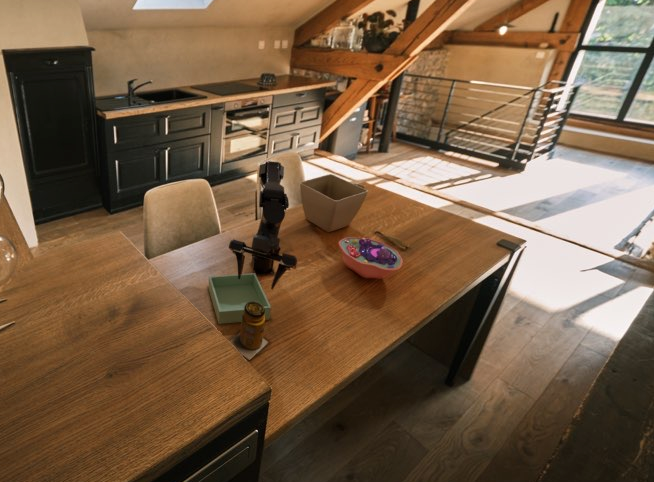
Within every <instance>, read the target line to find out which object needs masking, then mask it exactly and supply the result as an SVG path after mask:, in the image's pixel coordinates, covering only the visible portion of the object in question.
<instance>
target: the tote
mask: <svg viewBox="0 0 654 482" xmlns="http://www.w3.org/2000/svg"><path fill="white" fill-rule="evenodd" d="M257 276H258V275H256V273H255V272H254V273H252V272H251V273H242V275H241V278H240V279H238V273H237V274H226V275H209V276H208V286H207V287H208V291H209V295H210V298H211V302H212V306H213V309H214V312H215V316H216V320H217V322H218V325H221V324H234V323H241V321H242V314H243V312H244V307H245V305H246V304H247V303H248V302H258V303H260V304H261V305H262V306H263V307H264V309H265V313H264V316H265V321H269V320H270V318H271V313H272V312H271V311H272V306H271V304H270V302H269V300H268V297H267V296H266V293H265V291H264V290H263V288H262V285H261V283H260V280H259V279H258V277H257Z"/></svg>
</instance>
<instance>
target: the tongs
mask: <svg viewBox="0 0 654 482" xmlns="http://www.w3.org/2000/svg"><path fill="white" fill-rule="evenodd" d="M374 233H375V234H378V235H379V236H382V237H383V238H385V239H387V241H390V242H391V243H392V244H393V245H396V246H397V247H399V248H400V249H402V250H404V251H405V250H406V248H407V249H408V248H409V247H410V245H409V243H405V242H404V241H402V240H401V239H399V238H397V237H394V236H390V235H387V234H384V233H382V232H381V231H378V230H375V231H374ZM401 244H402V245H403V246H402V245H401Z"/></svg>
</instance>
